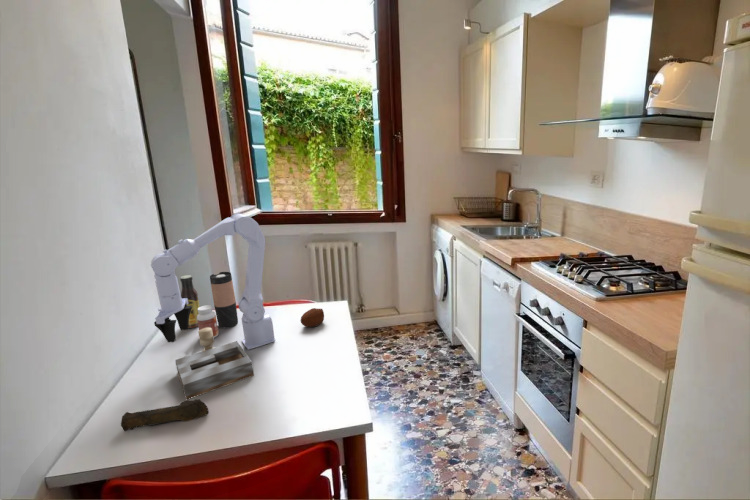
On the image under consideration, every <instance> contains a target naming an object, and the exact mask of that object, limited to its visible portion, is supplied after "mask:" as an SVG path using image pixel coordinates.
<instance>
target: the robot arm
mask: <svg viewBox="0 0 750 500" xmlns="http://www.w3.org/2000/svg"><path fill="white" fill-rule="evenodd" d="M236 234H238V235H239V236H241V238H242V239H244V240H245V242H247V243H248V248H247V249H248V250H247V261H246V273H245V274H246V275H245V284H244V286H245V287H244V290H243V292H242V294H241V295H242V296H241V299H240V300H239V302H238V309H239V311H240V312H241V313H242V317H241V324H242V330H243V337H244V339H241V342H242V344H243V346H245V348H246V350H249V351H250V350H251V349H256V348H258V347H261V346H265V345H268V344H271V343H274V342H276V339H275V331H274V325H273V320H272V317H271V315H270V314H269V313H266V314H265V312H266V310H265V306H264V298H263V294H262V282H263V273H264V272H263V271H264V261H265V253H266V252H265V251H266V249H265V248H266V238H265V235H264V234H263V232H262V230H261V228H260V224H259V223H258V222H257V221H256V220H255V219H254V218H252V217H250V216H248V215H245V214H244V213H239V212H238V213H234V214H233V215H231V216H230V217H229V216H228V217H226V218H224V219H223V220H221V221H219V222H218V223H217V224H214V226H212V227H210V228H209V229H207V230H205V231H204V232H203V233H202V234H199V235H198V236H197V237H195V238H193V239H191V238H190V239H189V238H186V239H184V240H183V239H182V238H181V239H180V240H178V241H177V242H178V243H177V244H176V245H173V246H172V247H171V248H169V249H164V250H162V253H158V254H155V255H154V256H153V257H152V259H151V261H150V266H151V269H152V271H153V272H154V279H155V281H154V282H155V286H156V292H157V295H158V299H159V304H160V307H159V308H158V309H157V311H158V314H157V315H156V317H155V321H154V322H153V323H154V326H155V327H156V328H157V329H158V330H159V331H160V332H161V333H162V335H163V337H164V338H165V340H166V342H167V343H175V342H176V341H177V340H176V324H178V328H179V329H180V330H181V331H187V330H189V328H188V325H189V315H190V312H191V309H192V306H187V305H188V304H189V303H188V298H182V299H181V290H180V285H179V282H178V281H179V280H178V276H177V275H176V269H177V267H181V266H182V265H184V264H186V263H187V262H188V261H190V260H192V259H193V258H195V257H197V256H198V255H199V254H200V250H201V249H202V248H204V247H206V246H207V245H209V244H211V243H212V242H214V241H216V240H218V239H220V238H221V237H223V236H236ZM173 315H174V317H175V318H176V319H171V318H170V317H172V316H173ZM176 322H177V323H176Z"/></svg>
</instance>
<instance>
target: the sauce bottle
mask: <svg viewBox="0 0 750 500" xmlns="http://www.w3.org/2000/svg"><path fill="white" fill-rule="evenodd" d="M179 280H180V283H181V290H180V294H181V299H182V298H188V303H189V304H188V305H187V306H192V309H191V312H190V315H189V325H188V329H194V328H197V327H198V322H197V315H198V314H199V313H198V308H199V307H201V306H200V300H199V294H198V291H197V290H196V289H195V288H194V283H193V276H192V275H190V274H187V275H183V276H182V275H181V276H180V279H179Z"/></svg>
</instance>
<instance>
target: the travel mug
mask: <svg viewBox="0 0 750 500" xmlns="http://www.w3.org/2000/svg"><path fill="white" fill-rule="evenodd" d="M209 281H210V287H211V295H212V300H213V305H214V312H215V315H216V320H217V326H218V328H220V329H228V328H232V327H235V326H236V325H237V324H239V317H238V309H237V302H236V300H237V299H236V296H235V291H234V282H233V277H232V272H230V271H220V272H218V273H217V274H214V273H213V274H210V275H209Z"/></svg>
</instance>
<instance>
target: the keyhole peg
mask: <svg viewBox="0 0 750 500" xmlns="http://www.w3.org/2000/svg"><path fill="white" fill-rule="evenodd" d="M197 332H198V337H199V343H200V346H201V347H203V350H202V351H201V352H203V351H206V350H209V349H212V348H213V344H214V343H215V339H214V338H215V337H214V338H213V332H212V328H209V327H208V328H203V329H200V330H199V329H198V331H197Z"/></svg>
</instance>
